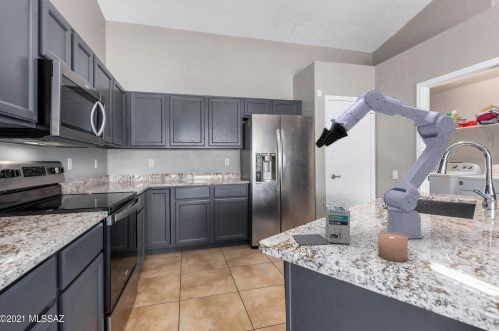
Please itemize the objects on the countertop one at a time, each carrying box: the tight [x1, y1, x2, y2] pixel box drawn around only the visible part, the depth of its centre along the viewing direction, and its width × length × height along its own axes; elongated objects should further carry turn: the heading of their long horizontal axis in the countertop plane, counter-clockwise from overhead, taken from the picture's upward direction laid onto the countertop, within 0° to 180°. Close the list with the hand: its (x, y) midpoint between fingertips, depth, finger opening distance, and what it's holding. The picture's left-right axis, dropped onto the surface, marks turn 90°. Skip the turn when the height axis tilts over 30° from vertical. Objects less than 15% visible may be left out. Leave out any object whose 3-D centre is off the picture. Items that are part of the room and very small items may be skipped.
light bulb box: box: [324, 203, 351, 245], centre depth 82 cm, size 11×7×11 cm, turn 168°
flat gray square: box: [291, 233, 332, 247], centre depth 81 cm, size 10×10×1 cm
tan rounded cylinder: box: [377, 231, 409, 263], centre depth 67 cm, size 7×7×6 cm
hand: (320, 145), depth 82 cm, fingers open, 7 cm apart
